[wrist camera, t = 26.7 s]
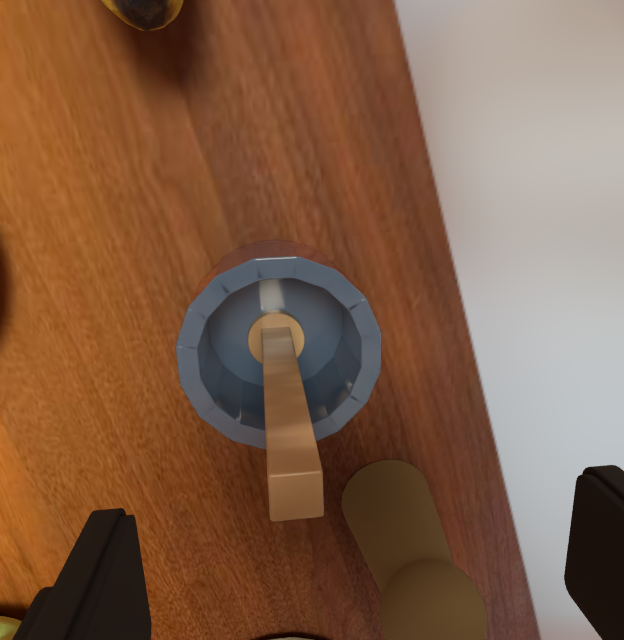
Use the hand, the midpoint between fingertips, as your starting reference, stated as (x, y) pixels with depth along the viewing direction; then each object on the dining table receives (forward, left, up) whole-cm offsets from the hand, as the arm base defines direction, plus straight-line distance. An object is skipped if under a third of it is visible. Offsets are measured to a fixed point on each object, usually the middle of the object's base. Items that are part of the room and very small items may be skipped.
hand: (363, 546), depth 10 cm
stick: (+1, +2, -19) cm, 19 cm away
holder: (+1, +1, -20) cm, 20 cm away
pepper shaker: (-6, +14, -20) cm, 25 cm away
